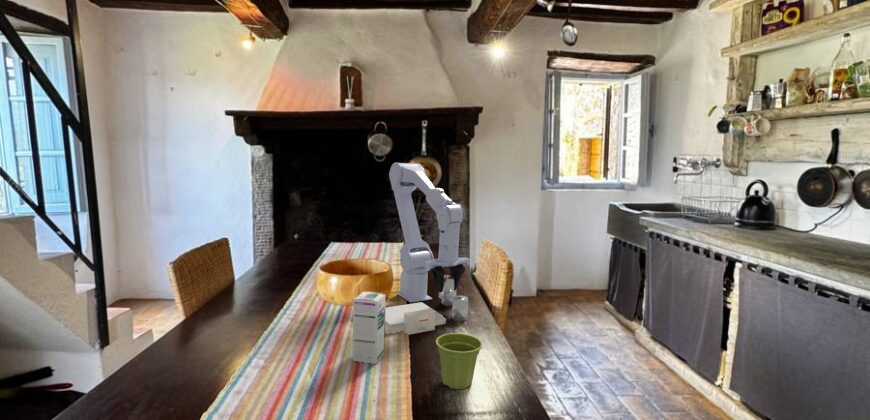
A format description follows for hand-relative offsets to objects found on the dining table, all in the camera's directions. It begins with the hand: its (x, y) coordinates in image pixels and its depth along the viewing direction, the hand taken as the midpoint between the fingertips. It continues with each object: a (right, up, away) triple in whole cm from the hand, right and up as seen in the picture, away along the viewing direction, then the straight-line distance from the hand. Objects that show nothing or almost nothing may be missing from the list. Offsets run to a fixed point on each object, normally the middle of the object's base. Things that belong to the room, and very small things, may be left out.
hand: (446, 290), depth 132 cm
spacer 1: (0, -2, 0) cm, 2 cm away
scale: (-10, -7, -9) cm, 16 cm away
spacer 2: (+1, -6, +8) cm, 10 cm away
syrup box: (-18, -10, -31) cm, 37 cm away
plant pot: (+1, -12, -40) cm, 42 cm away
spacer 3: (+4, -7, -4) cm, 9 cm away
